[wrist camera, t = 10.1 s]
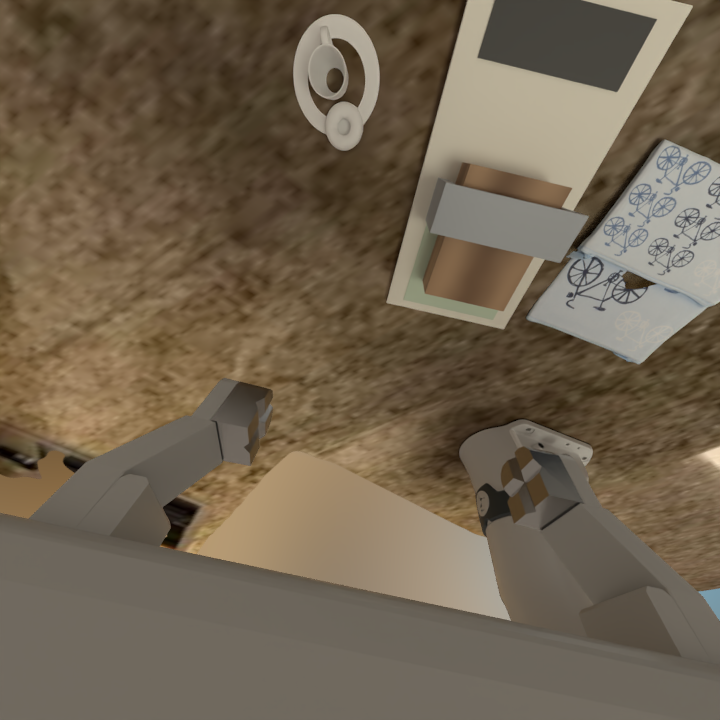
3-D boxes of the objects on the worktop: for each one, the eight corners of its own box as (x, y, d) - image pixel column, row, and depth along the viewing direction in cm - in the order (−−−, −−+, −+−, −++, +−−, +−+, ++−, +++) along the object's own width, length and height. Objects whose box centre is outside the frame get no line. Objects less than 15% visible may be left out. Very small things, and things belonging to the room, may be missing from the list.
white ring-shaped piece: (364, 157, 29) (359, 158, 26) (289, 132, 29) (275, 129, 25) (392, 35, 24) (390, 17, 21) (301, 1, 23) (285, -24, 20)
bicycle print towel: (812, 215, 28) (839, 219, 26) (629, 362, 40) (640, 372, 38) (657, 134, 26) (675, 132, 24) (512, 315, 38) (518, 323, 36)
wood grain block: (552, 183, 27) (572, 187, 24) (493, 296, 34) (503, 311, 31) (462, 162, 27) (470, 163, 24) (422, 280, 34) (424, 293, 31)
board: (682, 11, 21) (694, 5, 20) (501, 325, 38) (504, 329, 37) (477, -41, 21) (481, -50, 20) (386, 299, 38) (386, 303, 37)
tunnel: (557, 205, 29) (589, 216, 24) (535, 245, 31) (560, 263, 26) (438, 177, 28) (446, 182, 24) (425, 220, 31) (430, 232, 26)
